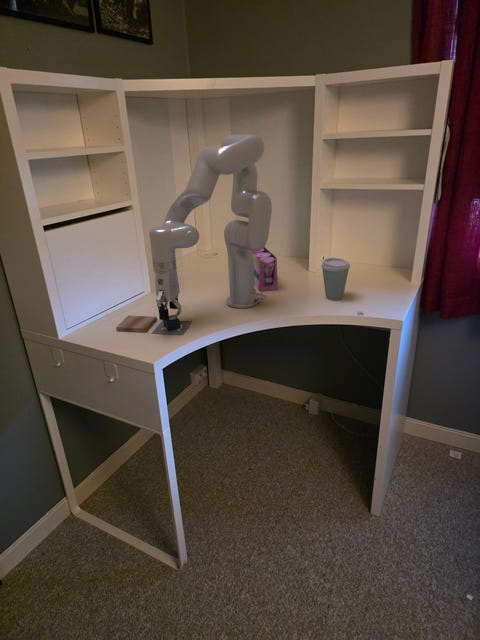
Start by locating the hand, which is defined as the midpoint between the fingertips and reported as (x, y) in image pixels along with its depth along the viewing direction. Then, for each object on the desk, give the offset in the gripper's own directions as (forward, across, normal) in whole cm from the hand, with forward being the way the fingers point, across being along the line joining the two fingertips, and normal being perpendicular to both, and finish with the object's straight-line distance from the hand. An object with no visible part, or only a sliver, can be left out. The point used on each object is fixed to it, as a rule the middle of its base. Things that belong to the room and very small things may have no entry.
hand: (169, 314), depth 145 cm
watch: (+5, 0, 0) cm, 5 cm away
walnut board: (+5, 0, +13) cm, 14 cm away
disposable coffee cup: (+4, +34, -55) cm, 65 cm away
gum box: (+4, +50, -24) cm, 55 cm away
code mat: (+5, 0, 0) cm, 5 cm away
